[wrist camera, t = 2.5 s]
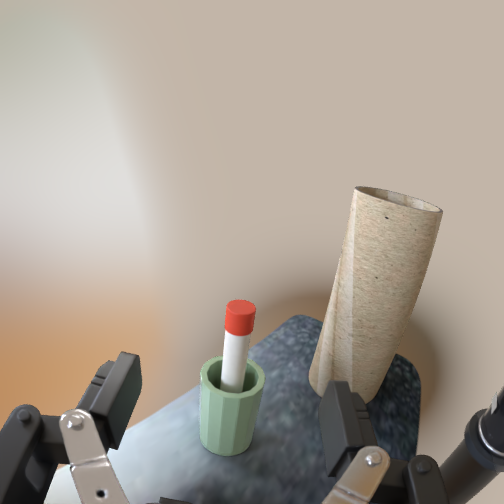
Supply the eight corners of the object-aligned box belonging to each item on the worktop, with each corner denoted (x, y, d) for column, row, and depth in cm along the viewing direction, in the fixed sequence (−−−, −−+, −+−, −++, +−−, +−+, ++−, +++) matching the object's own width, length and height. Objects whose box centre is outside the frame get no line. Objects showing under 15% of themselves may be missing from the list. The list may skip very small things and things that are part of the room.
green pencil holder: (256, 422, 32) (269, 362, 29) (245, 462, 27) (258, 405, 23) (208, 410, 33) (212, 348, 29) (192, 447, 28) (191, 387, 24)
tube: (324, 412, 34) (389, 205, 25) (298, 361, 43) (338, 182, 34) (389, 398, 37) (460, 217, 28) (358, 354, 46) (405, 193, 37)
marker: (238, 427, 30) (258, 302, 25) (233, 442, 28) (252, 317, 23) (218, 422, 31) (231, 296, 25) (212, 437, 29) (223, 310, 23)
